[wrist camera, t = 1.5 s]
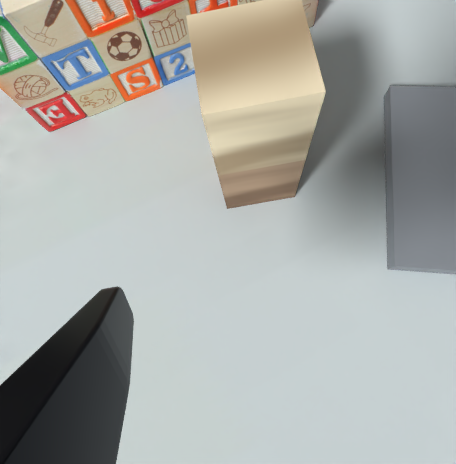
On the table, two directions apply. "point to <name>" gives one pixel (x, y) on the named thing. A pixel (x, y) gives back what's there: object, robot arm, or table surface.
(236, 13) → the tower
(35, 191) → the table surface
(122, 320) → the robot arm
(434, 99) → the plate
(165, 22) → the stack of blocks
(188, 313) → the table surface
